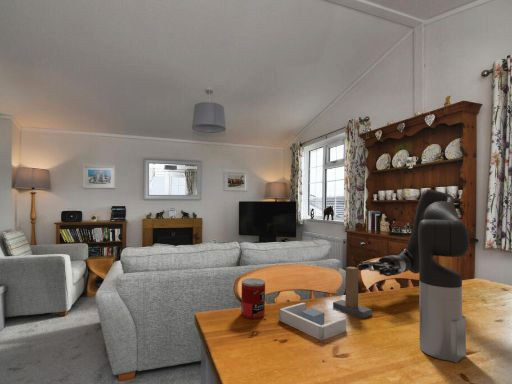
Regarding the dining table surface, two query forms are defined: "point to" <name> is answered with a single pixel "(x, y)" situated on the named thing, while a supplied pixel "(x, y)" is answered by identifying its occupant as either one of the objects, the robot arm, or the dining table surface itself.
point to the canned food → (253, 298)
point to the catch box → (310, 323)
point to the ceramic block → (313, 316)
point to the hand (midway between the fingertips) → (369, 269)
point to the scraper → (352, 296)
